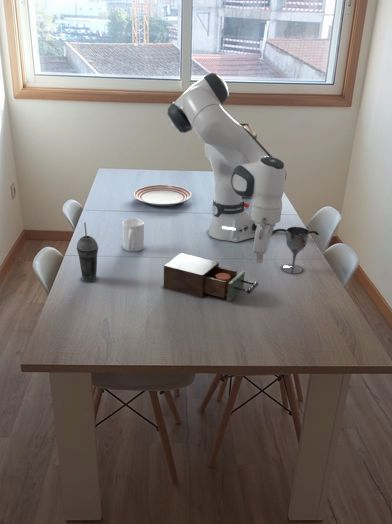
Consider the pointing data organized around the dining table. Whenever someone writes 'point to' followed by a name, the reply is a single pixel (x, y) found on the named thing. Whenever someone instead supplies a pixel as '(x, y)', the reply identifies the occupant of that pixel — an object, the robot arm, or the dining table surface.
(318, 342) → the dining table surface
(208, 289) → the drawer
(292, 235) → the wine glass
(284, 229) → the robot arm
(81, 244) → the beverage cup
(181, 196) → the dinner plate
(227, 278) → the orange cylinder puck
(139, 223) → the mug
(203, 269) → the cabinet
